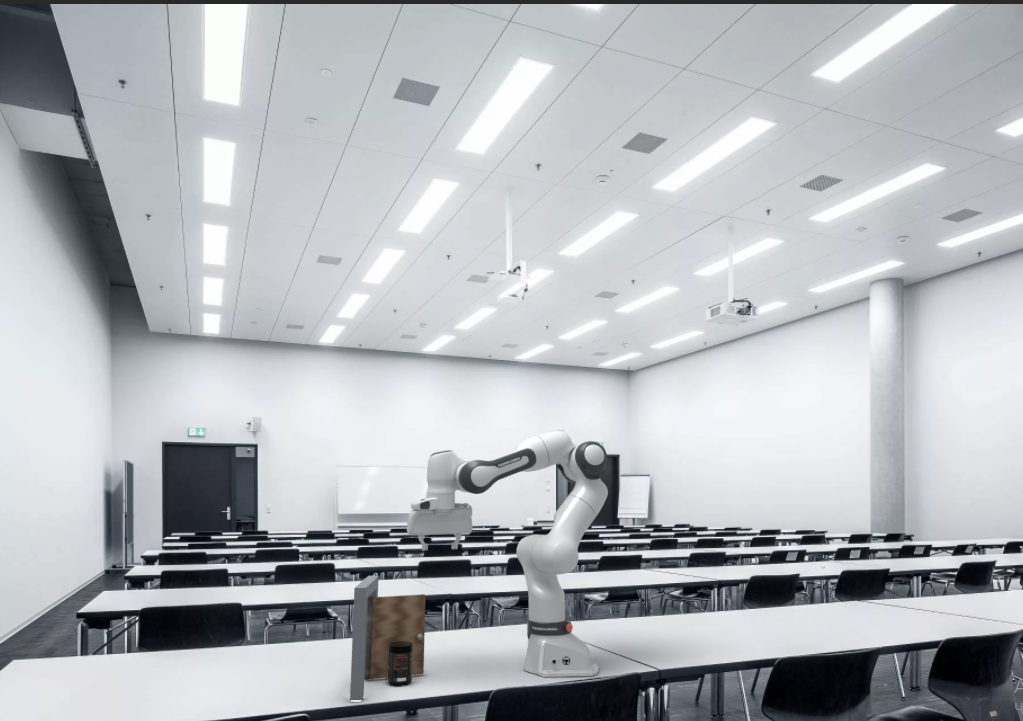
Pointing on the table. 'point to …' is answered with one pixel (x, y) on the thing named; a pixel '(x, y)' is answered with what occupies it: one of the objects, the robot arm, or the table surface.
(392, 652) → the supplement container
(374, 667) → the door
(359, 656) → the door frame
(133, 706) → the table surface
